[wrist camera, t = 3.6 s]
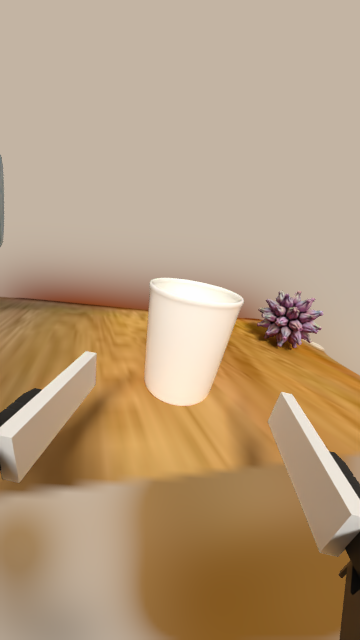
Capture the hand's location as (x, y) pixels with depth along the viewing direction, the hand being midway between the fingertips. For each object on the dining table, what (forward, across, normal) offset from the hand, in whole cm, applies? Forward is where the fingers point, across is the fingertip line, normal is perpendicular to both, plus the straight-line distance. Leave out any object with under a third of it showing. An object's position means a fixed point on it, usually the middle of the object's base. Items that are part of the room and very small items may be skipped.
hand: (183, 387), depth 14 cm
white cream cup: (+9, 0, -7) cm, 11 cm away
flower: (+28, +20, -7) cm, 35 cm away
